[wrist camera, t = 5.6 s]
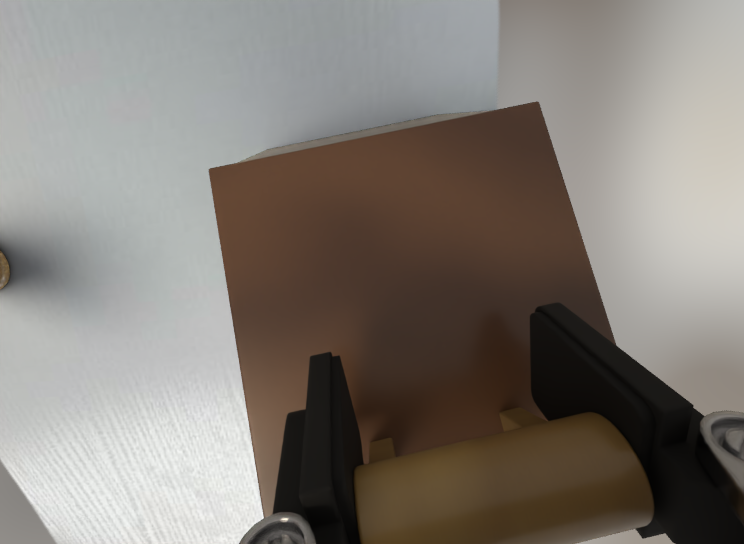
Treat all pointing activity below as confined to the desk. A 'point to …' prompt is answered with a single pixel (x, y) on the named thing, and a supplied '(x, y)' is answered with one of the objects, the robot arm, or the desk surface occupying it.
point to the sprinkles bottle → (3, 271)
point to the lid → (426, 327)
